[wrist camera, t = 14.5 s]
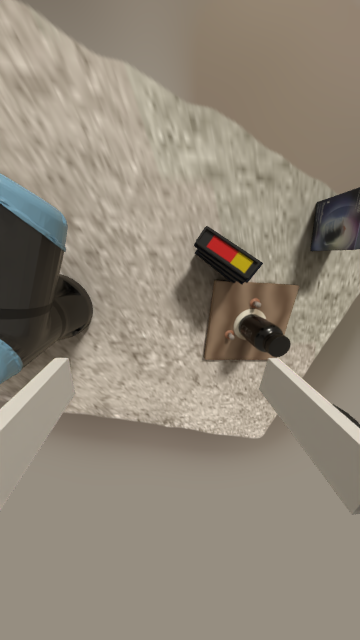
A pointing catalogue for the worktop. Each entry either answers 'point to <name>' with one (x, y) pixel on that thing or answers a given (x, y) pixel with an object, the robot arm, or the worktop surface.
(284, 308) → the board
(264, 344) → the supplement bottle
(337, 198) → the small box
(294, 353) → the worktop surface
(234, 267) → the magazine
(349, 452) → the robot arm
